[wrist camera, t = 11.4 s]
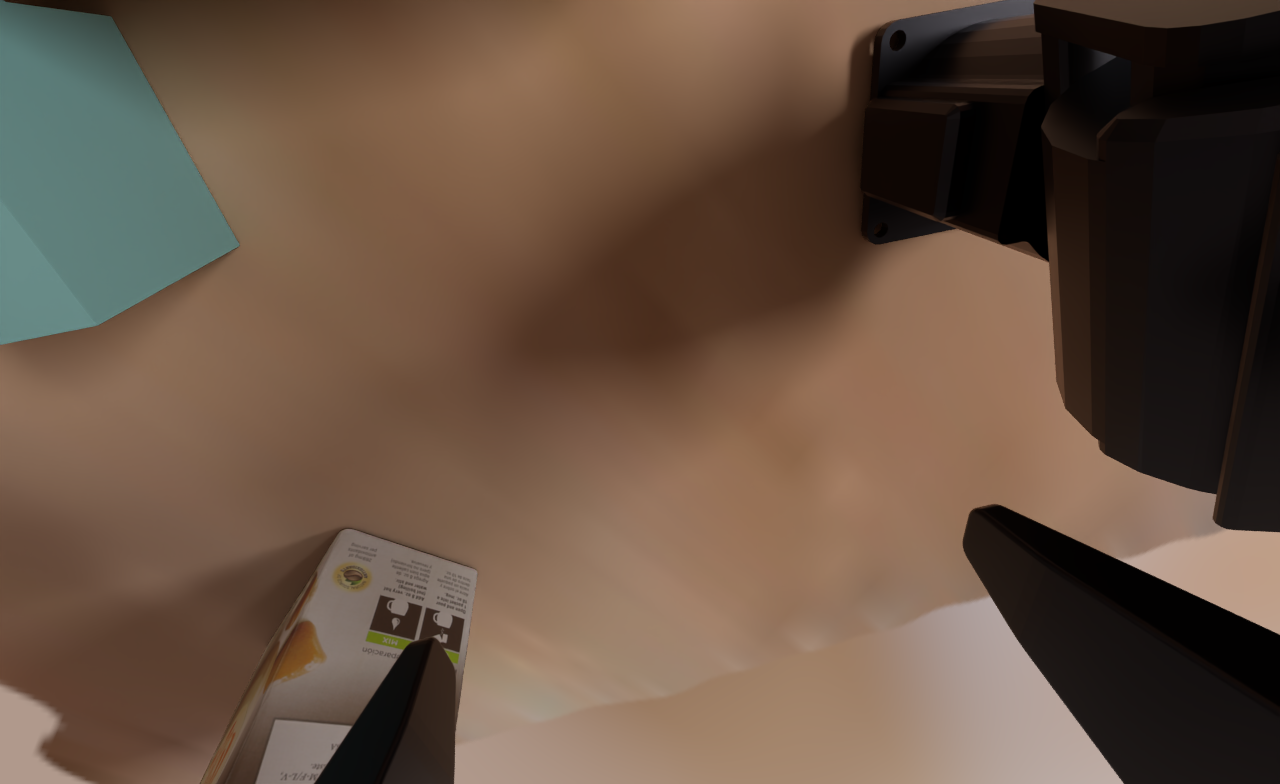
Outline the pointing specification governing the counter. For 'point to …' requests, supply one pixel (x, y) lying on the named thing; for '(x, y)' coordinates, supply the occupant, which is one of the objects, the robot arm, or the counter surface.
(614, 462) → the counter surface
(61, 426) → the counter surface
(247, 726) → the coffee box
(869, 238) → the robot arm
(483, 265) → the counter surface
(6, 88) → the crossbar
